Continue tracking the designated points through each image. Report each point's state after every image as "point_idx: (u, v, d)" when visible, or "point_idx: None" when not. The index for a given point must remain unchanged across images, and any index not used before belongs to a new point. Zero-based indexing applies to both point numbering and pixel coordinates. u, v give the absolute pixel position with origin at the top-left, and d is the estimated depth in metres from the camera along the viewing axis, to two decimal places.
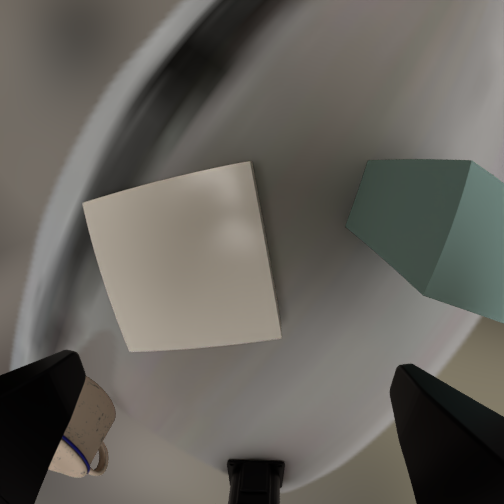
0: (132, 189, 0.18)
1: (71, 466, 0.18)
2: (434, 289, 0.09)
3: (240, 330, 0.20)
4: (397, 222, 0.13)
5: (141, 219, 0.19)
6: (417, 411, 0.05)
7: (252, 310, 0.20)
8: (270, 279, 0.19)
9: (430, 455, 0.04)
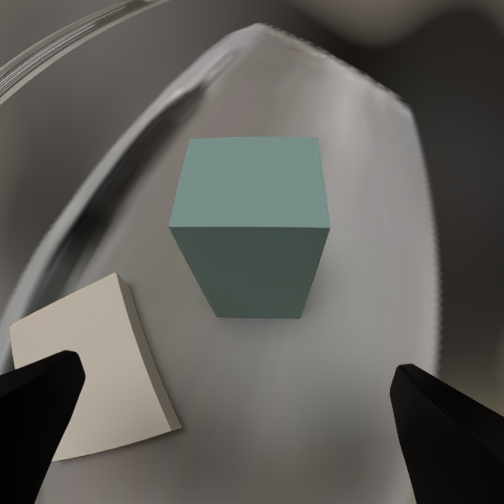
0: (40, 310, 0.20)
1: None
2: (179, 219, 0.11)
3: (128, 426, 0.16)
4: None
5: (45, 332, 0.19)
6: (417, 411, 0.05)
7: (134, 402, 0.17)
8: (144, 367, 0.18)
9: (430, 455, 0.04)
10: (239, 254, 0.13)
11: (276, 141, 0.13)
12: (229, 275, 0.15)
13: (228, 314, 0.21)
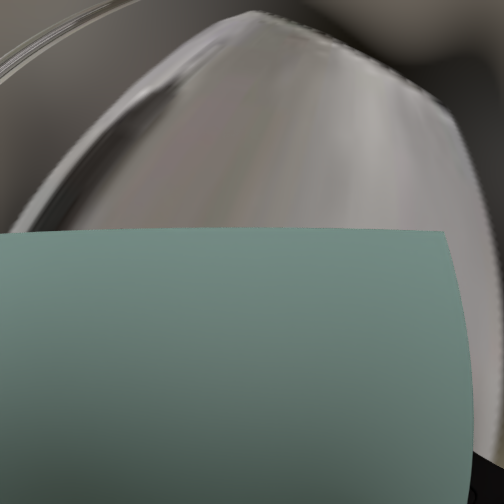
0: None
1: None
2: None
3: None
4: None
5: None
6: None
7: None
8: None
9: None
10: None
11: (276, 259, 0.03)
12: None
13: None
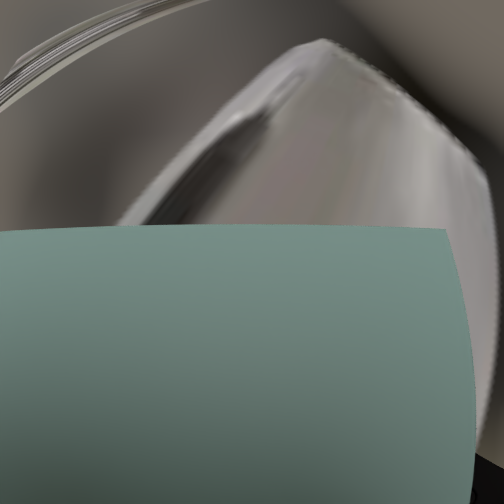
0: None
1: None
2: None
3: None
4: None
5: None
6: None
7: None
8: None
9: None
10: None
11: (280, 256, 0.03)
12: None
13: None
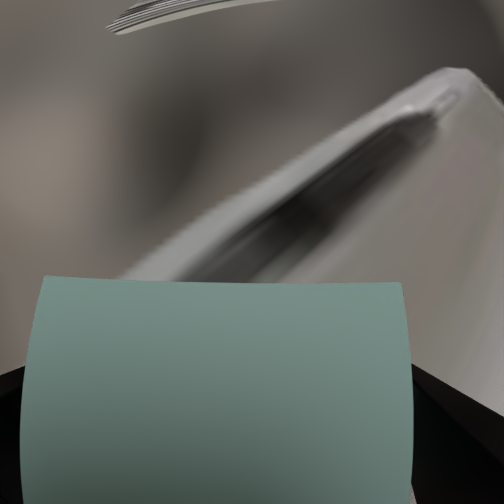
0: None
1: None
2: None
3: None
4: None
5: None
6: (417, 411, 0.05)
7: None
8: None
9: (430, 455, 0.04)
10: None
11: (275, 307, 0.04)
12: None
13: None
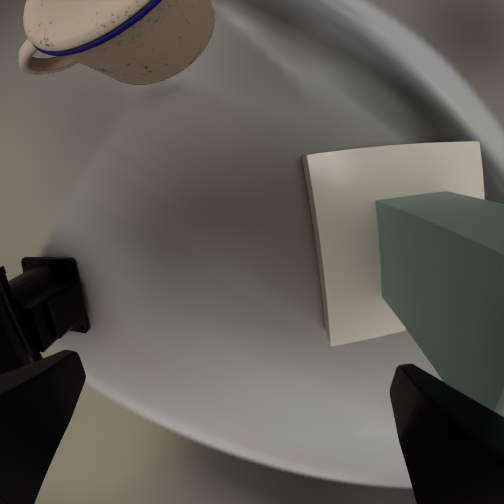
0: None
1: (66, 20, 0.08)
2: None
3: (345, 307, 0.18)
4: (484, 221, 0.08)
5: None
6: (417, 411, 0.05)
7: (367, 318, 0.18)
8: (394, 332, 0.18)
9: (430, 455, 0.04)
10: (475, 323, 0.07)
11: None
12: (445, 279, 0.09)
13: (381, 218, 0.16)
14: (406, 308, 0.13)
